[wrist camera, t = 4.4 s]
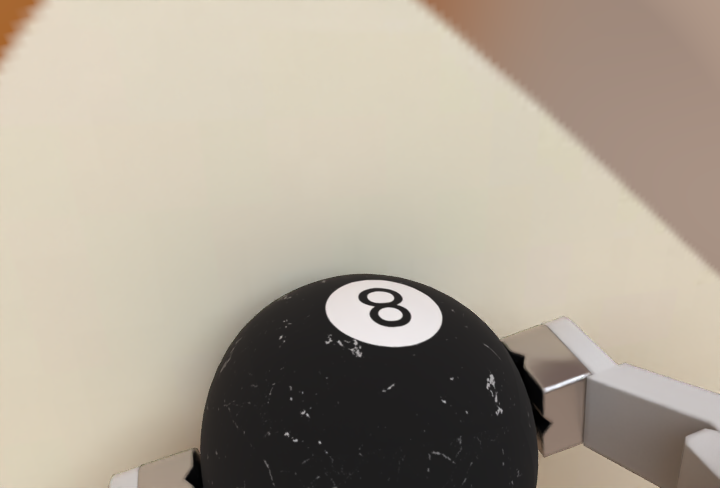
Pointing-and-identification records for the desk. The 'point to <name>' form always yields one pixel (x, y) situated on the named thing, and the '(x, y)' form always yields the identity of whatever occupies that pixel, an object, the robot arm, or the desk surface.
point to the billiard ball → (367, 395)
